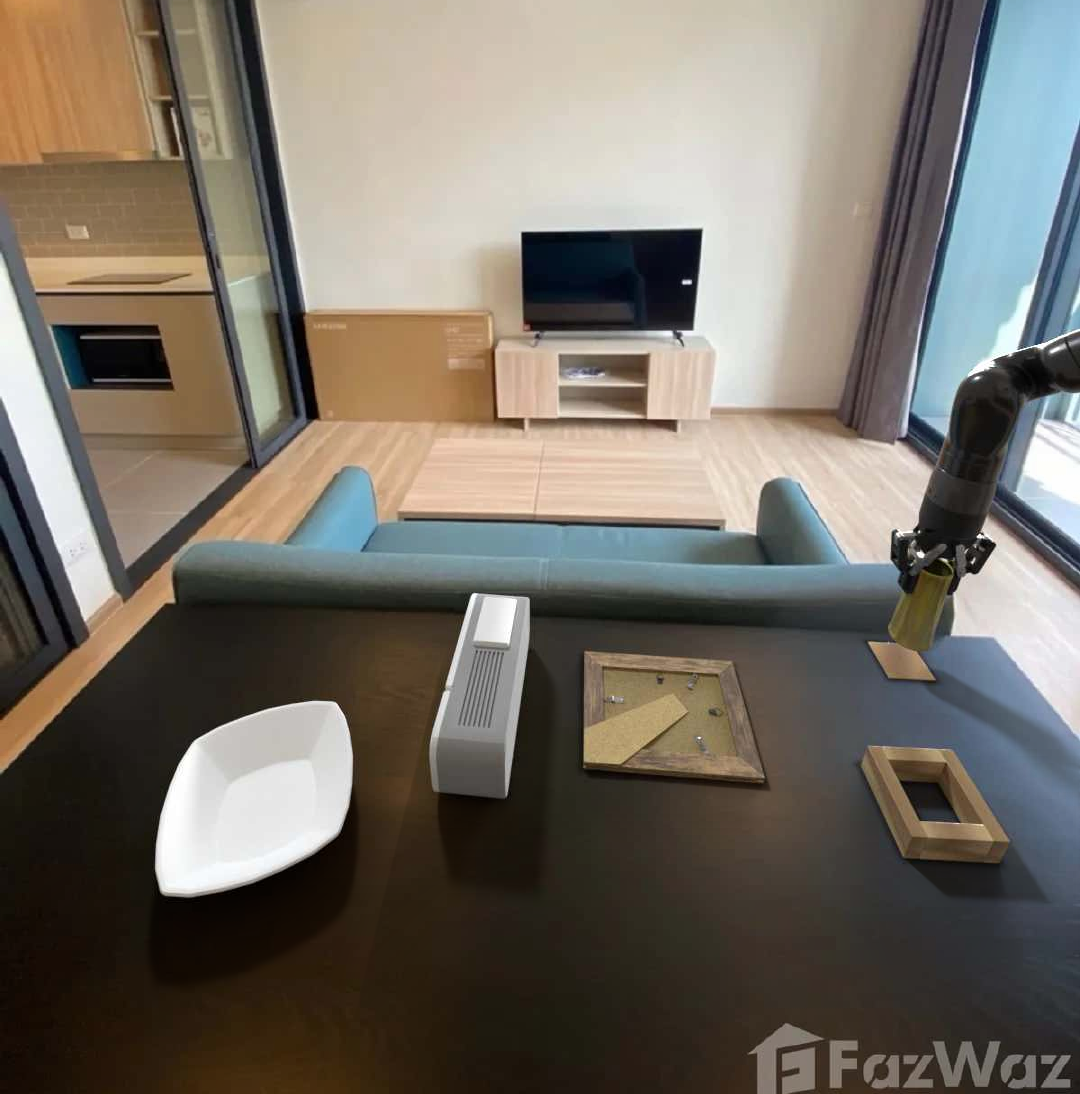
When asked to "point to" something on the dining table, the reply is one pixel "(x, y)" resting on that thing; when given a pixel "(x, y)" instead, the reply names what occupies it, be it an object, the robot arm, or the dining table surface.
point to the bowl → (254, 799)
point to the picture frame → (667, 718)
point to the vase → (921, 607)
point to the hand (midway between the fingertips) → (925, 590)
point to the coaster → (900, 662)
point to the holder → (978, 825)
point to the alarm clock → (482, 699)
